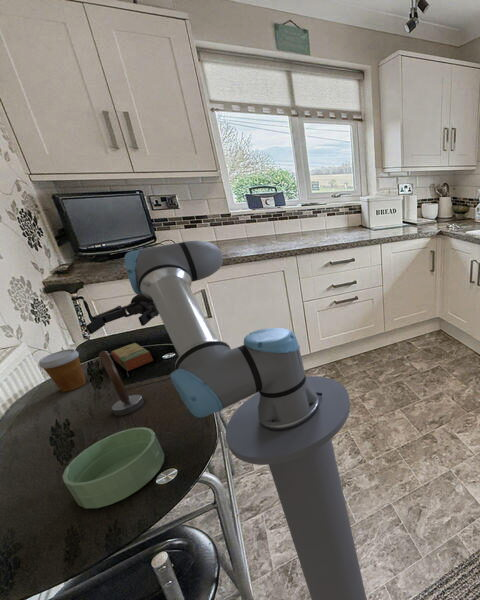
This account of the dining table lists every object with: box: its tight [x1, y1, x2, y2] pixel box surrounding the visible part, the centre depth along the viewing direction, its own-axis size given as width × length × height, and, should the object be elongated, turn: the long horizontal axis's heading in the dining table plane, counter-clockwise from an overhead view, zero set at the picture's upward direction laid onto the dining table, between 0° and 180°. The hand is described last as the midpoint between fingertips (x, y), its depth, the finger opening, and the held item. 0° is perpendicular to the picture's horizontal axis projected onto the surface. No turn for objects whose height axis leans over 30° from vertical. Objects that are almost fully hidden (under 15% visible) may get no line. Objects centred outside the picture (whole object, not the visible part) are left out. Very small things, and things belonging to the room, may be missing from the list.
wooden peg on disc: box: [98, 350, 145, 417], centre depth 93 cm, size 7×7×19 cm
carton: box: [110, 342, 154, 372], centre depth 124 cm, size 8×16×4 cm, turn 54°
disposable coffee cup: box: [38, 348, 87, 392], centre depth 109 cm, size 10×10×12 cm
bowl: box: [62, 426, 165, 510], centre depth 70 cm, size 15×15×7 cm
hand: (115, 325), depth 97 cm, fingers open, 13 cm apart
